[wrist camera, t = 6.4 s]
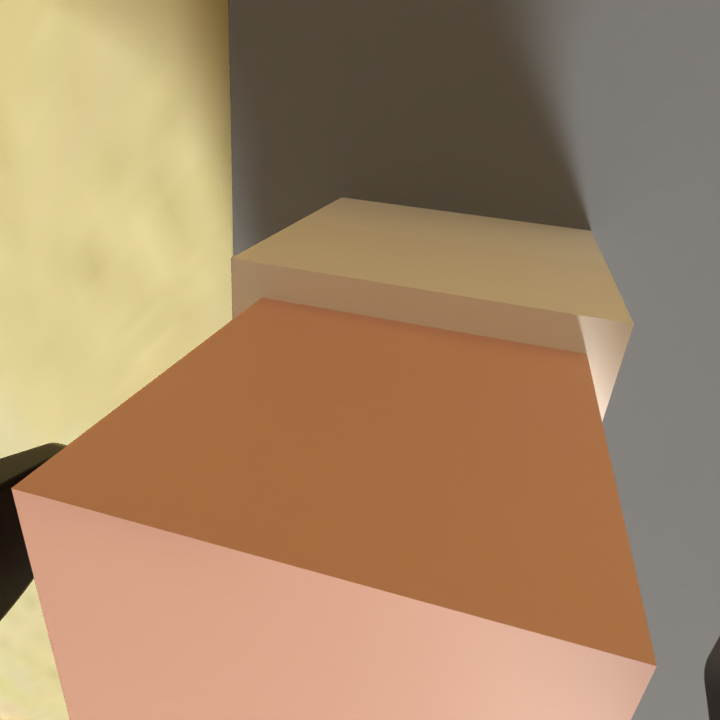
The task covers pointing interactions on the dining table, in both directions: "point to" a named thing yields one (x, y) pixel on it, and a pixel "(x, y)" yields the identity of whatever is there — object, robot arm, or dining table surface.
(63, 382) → the dining table surface
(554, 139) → the placemat
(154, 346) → the dining table surface
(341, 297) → the slab upper
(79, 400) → the dining table surface
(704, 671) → the robot arm
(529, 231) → the slab lower
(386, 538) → the cube
